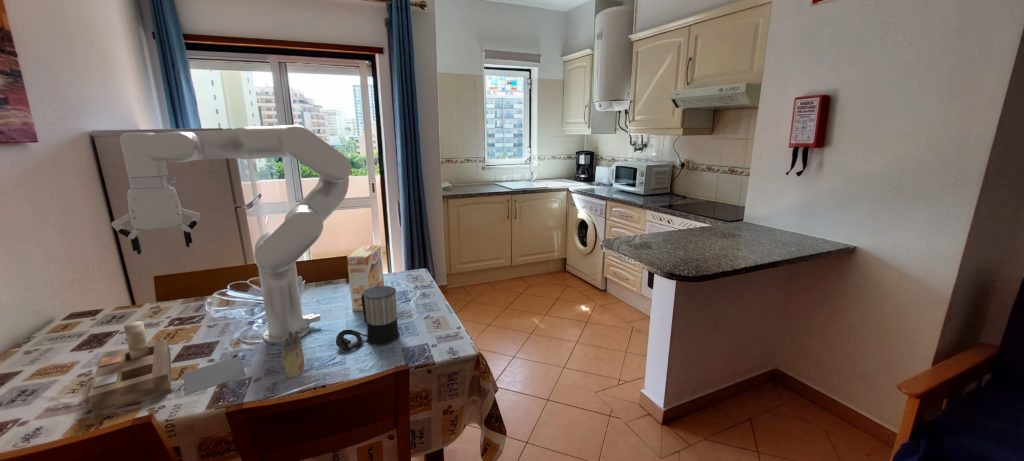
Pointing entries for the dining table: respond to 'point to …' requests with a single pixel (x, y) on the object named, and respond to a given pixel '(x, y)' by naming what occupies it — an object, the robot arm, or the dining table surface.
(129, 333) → the peg
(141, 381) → the socket block
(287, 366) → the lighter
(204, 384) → the mat
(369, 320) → the milk frother
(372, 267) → the coffeecake box
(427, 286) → the dining table surface
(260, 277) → the robot arm
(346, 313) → the dining table surface
